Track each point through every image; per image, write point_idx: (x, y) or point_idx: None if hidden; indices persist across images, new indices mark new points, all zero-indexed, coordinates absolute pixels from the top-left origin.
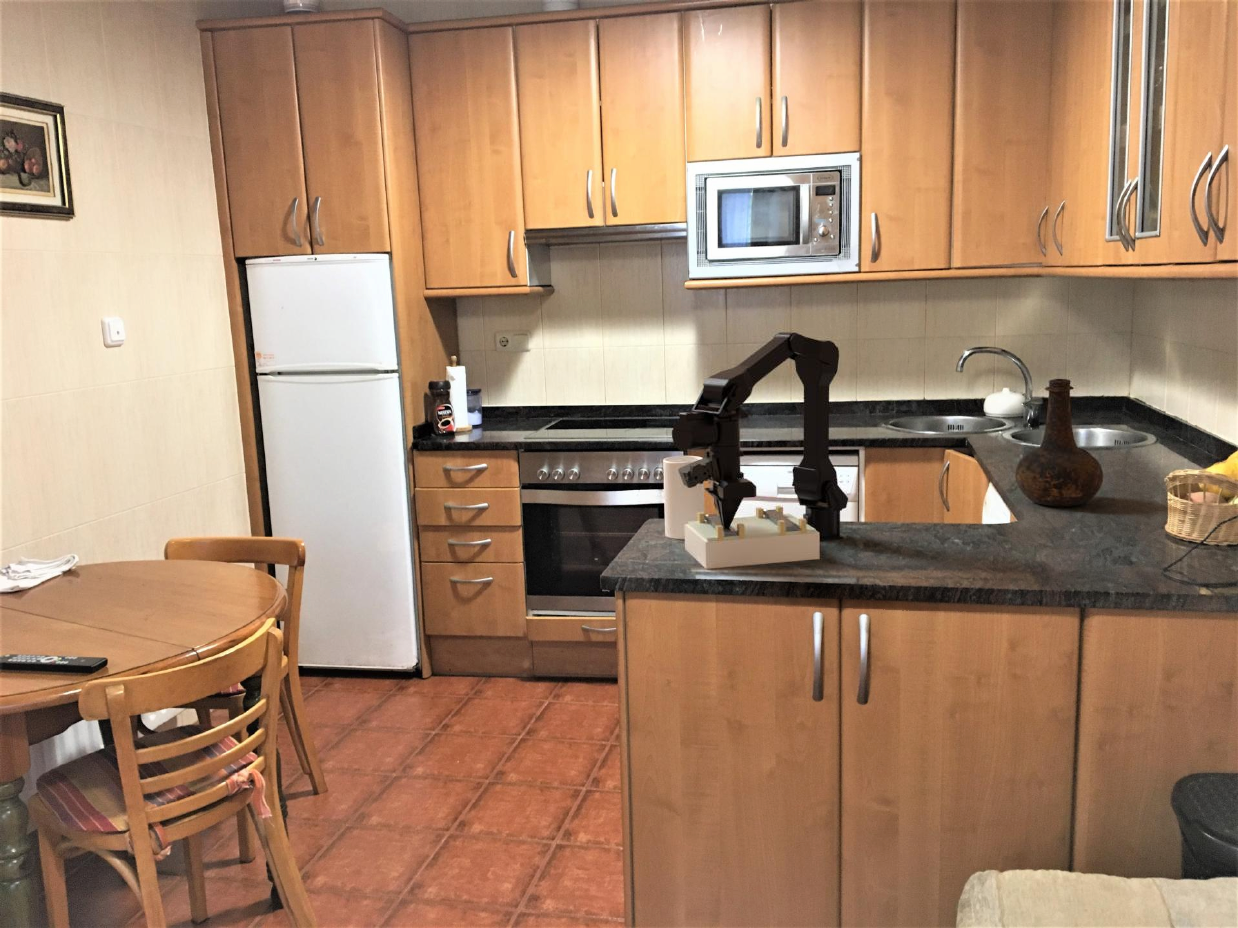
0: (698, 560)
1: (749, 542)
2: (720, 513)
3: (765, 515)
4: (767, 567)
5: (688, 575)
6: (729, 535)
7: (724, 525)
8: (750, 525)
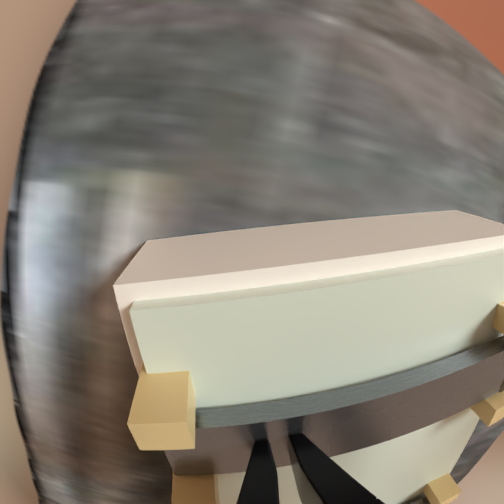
0: (271, 227)
1: None
2: (318, 496)
3: (420, 500)
4: None
5: (68, 153)
6: None
7: (253, 453)
8: None
